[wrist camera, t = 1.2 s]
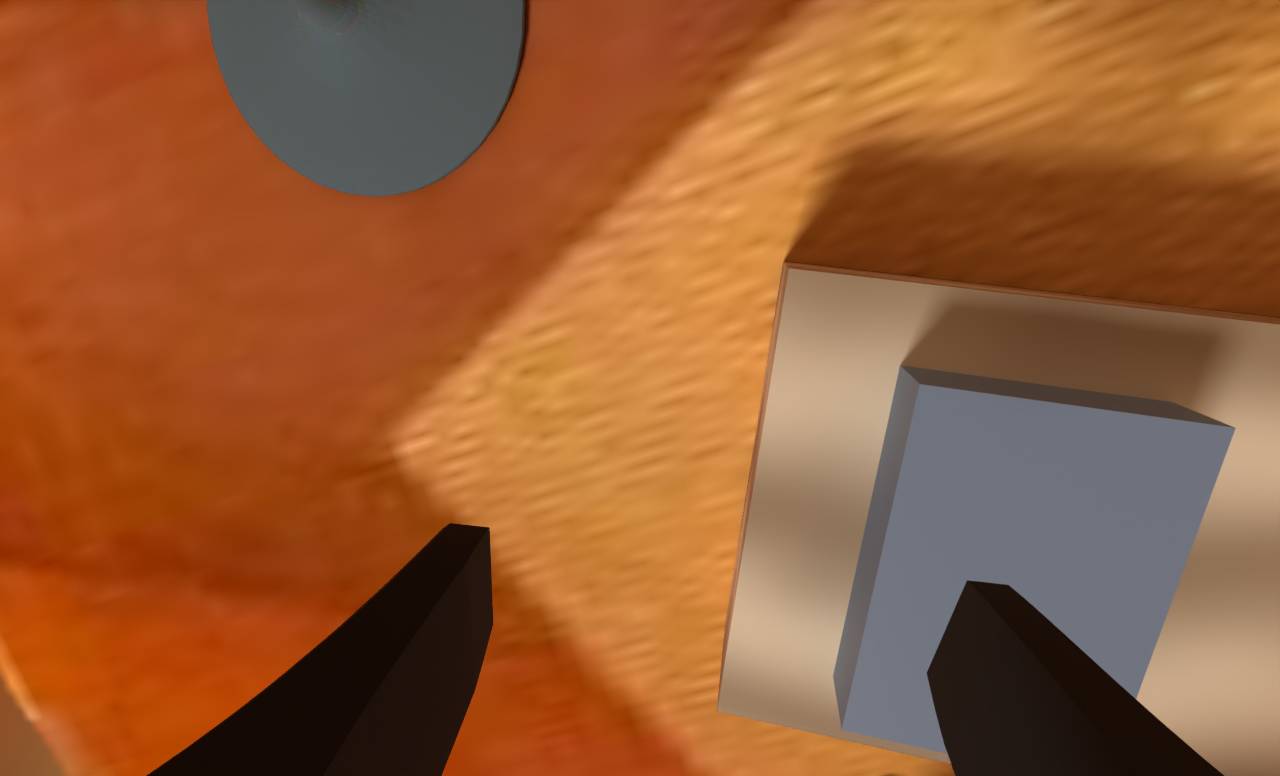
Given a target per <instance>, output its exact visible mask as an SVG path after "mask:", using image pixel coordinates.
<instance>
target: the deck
mask: <svg viewBox="0 0 1280 776" xmlns="http://www.w3.org/2000/svg"><path fill="white" fill-rule="evenodd" d="M900 365H901V366H908V367H916V368H923V369H931V370H938V371H945V372H953V373H960V374H968V375H975V376H983V377H990V378H997V379H1005V380H1012V381H1020V382H1027V383H1035V384H1042V385H1049V386H1057V387H1064V388H1072V389H1079V390H1087V391H1094V392H1101V393H1109V394H1116V395H1124V396H1131V397H1139V398H1146V399H1153V400H1161V401H1168V402H1174V403H1176V404H1179V405H1181V406H1183V407H1186V408H1188V409H1191V410H1193V411H1196V412H1198V413H1201V414H1203V415H1205V416H1208V417H1210V418H1213V419H1215V420H1218V421H1220V422H1223V423H1225V424H1228V425H1230V426H1232V427H1235V431H1234V434H1233V437H1232V439H1231V442H1230V445H1229V448H1228V450H1227V453H1226V456H1225V458H1224V461H1223V464H1222V467H1221V469H1220V472H1219V475H1218V477H1217V480H1216V483H1215V486H1214V488H1213V491H1212V494H1211V497H1210V499H1209V502H1208V505H1207V507H1206V510H1205V513H1204V516H1203V518H1202V521H1201V524H1200V526H1199V529H1198V532H1197V535H1196V537H1195V540H1194V543H1193V546H1192V548H1191V551H1190V554H1189V556H1188V559H1187V562H1186V565H1185V567H1184V570H1183V573H1182V576H1181V578H1180V581H1179V584H1178V586H1177V589H1176V592H1175V595H1174V597H1173V600H1172V603H1171V605H1170V608H1169V611H1168V614H1167V616H1166V619H1165V622H1164V625H1163V627H1162V630H1161V633H1160V635H1159V638H1158V641H1157V644H1156V646H1155V649H1154V652H1153V654H1152V657H1151V660H1150V663H1149V665H1148V668H1147V671H1146V674H1145V676H1144V679H1143V682H1142V684H1141V687H1140V690H1139V693H1138V695H1137V698H1136V700H1137V701H1139V702H1140V703H1141V704H1142V705H1143V706H1144V707H1145V708H1146V709H1148V710H1149V711H1150V712H1151V713H1152V714H1153V715H1154V716H1155V717H1157V718H1158V719H1159V720H1160V721H1161V722H1162V723H1163V724H1165V725H1166V726H1167V727H1168V728H1169V729H1170V730H1171V731H1173V732H1174V733H1175V734H1176V735H1177V736H1178V737H1179V738H1181V739H1182V740H1183V741H1184V742H1185V743H1186V744H1188V745H1189V746H1190V747H1191V748H1192V749H1193V750H1195V751H1196V752H1197V753H1198V754H1199V755H1200V756H1201V757H1203V758H1204V759H1205V760H1206V761H1207V762H1209V763H1210V764H1211V765H1212V766H1213V767H1215V768H1216V769H1217V770H1218V771H1219V772H1221V773H1222V774H1223V775H1224V776H1280V318H1278V317H1270V316H1261V315H1252V314H1243V313H1234V312H1225V311H1217V310H1208V309H1199V308H1190V307H1181V306H1172V305H1163V304H1155V303H1146V302H1137V301H1128V300H1119V299H1110V298H1102V297H1093V296H1084V295H1075V294H1066V293H1057V292H1049V291H1040V290H1031V289H1022V288H1013V287H1004V286H996V285H987V284H978V283H969V282H960V281H951V280H943V279H934V278H925V277H916V276H907V275H898V274H890V273H881V272H872V271H863V270H854V269H845V268H836V267H828V266H819V265H810V264H801V263H792V262H783V267H782V273H781V280H780V286H779V292H778V299H777V305H776V311H775V317H774V324H773V330H772V336H771V342H770V349H769V355H768V361H767V367H766V374H765V380H764V386H763V392H762V399H761V405H760V411H759V418H758V424H757V430H756V436H755V443H754V449H753V455H752V461H751V468H750V474H749V480H748V486H747V493H746V499H745V505H744V512H743V518H742V524H741V530H740V537H739V543H738V549H737V555H736V562H735V568H734V574H733V580H732V587H731V593H730V599H729V606H728V612H727V618H726V624H725V631H724V642H723V652H722V663H721V674H720V684H719V695H718V706H717V711H718V712H723V713H727V714H732V715H736V716H740V717H745V718H749V719H754V720H758V721H763V722H767V723H771V724H776V725H780V726H785V727H789V728H793V729H798V730H802V731H807V732H811V733H816V734H820V735H824V736H829V737H833V738H838V739H842V740H846V741H851V742H855V743H860V744H864V745H869V746H873V747H877V748H882V749H886V750H891V751H895V752H899V753H904V754H908V755H913V756H917V757H921V758H926V759H930V760H935V761H939V762H944V763H948V764H951V762H950V759H949V756H948V754H946V753H941V752H937V751H932V750H928V749H924V748H919V747H915V746H910V745H906V744H901V743H897V742H892V741H888V740H883V739H879V738H874V737H870V736H866V735H861V734H857V733H852V732H848V731H843V730H841V723H840V717H839V711H838V705H837V698H836V692H835V686H834V680H833V674H834V669H835V664H836V660H837V655H838V650H839V646H840V641H841V637H842V632H843V627H844V623H845V618H846V613H847V609H848V604H849V600H850V595H851V590H852V586H853V581H854V576H855V572H856V567H857V562H858V558H859V553H860V549H861V544H862V539H863V535H864V530H865V525H866V521H867V516H868V511H869V507H870V502H871V498H872V493H873V488H874V484H875V479H876V474H877V470H878V465H879V461H880V456H881V451H882V447H883V442H884V437H885V433H886V428H887V423H888V419H889V414H890V410H891V405H892V400H893V396H894V391H895V386H896V382H897V377H898V373H899V368H900Z"/></svg>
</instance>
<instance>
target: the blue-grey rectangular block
mask: <svg viewBox="0 0 1280 776" xmlns="http://www.w3.org/2000/svg"><path fill="white" fill-rule="evenodd" d="M1234 431H1235V427H1232V426H1230V425H1228V424H1225V423H1223V422H1220V421H1218V420H1215V419H1213V418H1210V417H1208V416H1205V415H1203V414H1201V413H1198V412H1196V411H1193V410H1191V409H1188V408H1186V407H1183V406H1181V405H1179V404H1176V403H1174V402H1168V401H1161V400H1153V399H1146V398H1139V397H1131V396H1124V395H1116V394H1109V393H1101V392H1094V391H1087V390H1079V389H1072V388H1064V387H1057V386H1049V385H1042V384H1035V383H1027V382H1020V381H1012V380H1005V379H997V378H990V377H983V376H975V375H968V374H960V373H953V372H945V371H938V370H931V369H923V368H916V367H908V366H901V365H900V368H899V373H898V377H897V382H896V386H895V391H894V396H893V400H892V405H891V410H890V414H889V419H888V423H887V428H886V433H885V437H884V442H883V447H882V451H881V456H880V461H879V465H878V470H877V474H876V479H875V484H874V488H873V493H872V498H871V502H870V507H869V511H868V516H867V521H866V525H865V530H864V535H863V539H862V544H861V549H860V553H859V558H858V562H857V567H856V572H855V576H854V581H853V586H852V590H851V595H850V600H849V604H848V609H847V613H846V618H845V623H844V627H843V632H842V637H841V641H840V646H839V650H838V655H837V660H836V664H835V669H834V674H833V680H834V686H835V692H836V698H837V705H838V711H839V717H840V723H841V730H843V731H848V732H852V733H857V734H861V735H866V736H870V737H874V738H879V739H883V740H888V741H892V742H897V743H901V744H906V745H910V746H915V747H919V748H924V749H928V750H932V751H937V752H941V753H946V754H948V753H947V751H946V748H945V745H944V742H943V738H942V734H941V730H940V727H939V723H938V719H937V715H936V712H935V707H934V703H933V699H932V694H931V690H930V686H929V681H928V677H927V671H928V669H929V666H930V664H931V662H932V659H933V657H934V655H935V653H936V650H937V648H938V646H939V643H940V641H941V639H942V636H943V634H944V632H945V630H946V627H947V625H948V623H949V620H950V618H951V616H952V614H953V611H954V609H955V607H956V604H957V602H958V600H959V597H960V595H961V593H962V591H963V588H964V586H965V584H966V581H967V580H969V581H978V582H987V583H996V584H1005V585H1009V586H1010V587H1012V588H1013V589H1014V590H1015V591H1016V592H1018V593H1019V594H1020V595H1021V596H1022V597H1024V598H1025V599H1026V600H1027V601H1028V602H1029V603H1030V604H1032V605H1033V606H1034V607H1035V608H1036V609H1037V610H1038V611H1039V612H1041V613H1042V614H1043V615H1044V616H1045V617H1046V618H1047V619H1048V620H1049V621H1051V622H1052V623H1053V624H1054V625H1055V626H1056V627H1057V628H1058V629H1059V630H1060V631H1062V632H1063V633H1064V634H1065V635H1066V636H1067V637H1068V638H1069V639H1070V640H1071V641H1072V642H1074V643H1075V644H1076V645H1077V646H1078V647H1079V648H1080V649H1081V650H1082V651H1083V652H1085V653H1086V654H1087V655H1088V656H1089V657H1090V658H1091V659H1092V660H1093V661H1094V662H1095V663H1097V664H1098V665H1099V666H1100V667H1101V668H1102V669H1103V670H1104V671H1105V672H1106V673H1108V674H1109V675H1110V676H1111V677H1112V678H1113V679H1114V680H1115V681H1116V682H1117V683H1119V684H1120V685H1121V686H1122V687H1123V688H1124V689H1125V690H1126V691H1127V692H1129V693H1130V694H1131V695H1132V696H1133V697H1134V698H1135V699H1136V698H1137V695H1138V693H1139V690H1140V687H1141V684H1142V682H1143V679H1144V676H1145V674H1146V671H1147V668H1148V665H1149V663H1150V660H1151V657H1152V654H1153V652H1154V649H1155V646H1156V644H1157V641H1158V638H1159V635H1160V633H1161V630H1162V627H1163V625H1164V622H1165V619H1166V616H1167V614H1168V611H1169V608H1170V605H1171V603H1172V600H1173V597H1174V595H1175V592H1176V589H1177V586H1178V584H1179V581H1180V578H1181V576H1182V573H1183V570H1184V567H1185V565H1186V562H1187V559H1188V556H1189V554H1190V551H1191V548H1192V546H1193V543H1194V540H1195V537H1196V535H1197V532H1198V529H1199V526H1200V524H1201V521H1202V518H1203V516H1204V513H1205V510H1206V507H1207V505H1208V502H1209V499H1210V497H1211V494H1212V491H1213V488H1214V486H1215V483H1216V480H1217V477H1218V475H1219V472H1220V469H1221V467H1222V464H1223V461H1224V458H1225V456H1226V453H1227V450H1228V448H1229V445H1230V442H1231V439H1232V437H1233V434H1234Z"/></svg>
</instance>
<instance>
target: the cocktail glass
mask: <svg viewBox="0 0 1280 776" xmlns="http://www.w3.org/2000/svg"><path fill="white" fill-rule="evenodd" d="M207 11H208V18H209V25H210V32H211V38H212V43H213V47H214V50H215V54H216V57H217V61H218V64H219V68H220V71H221V73H222V75H223V78H224V80H225V83H226V85H227V87H228V90H229V92H230V95H231V96H232V98H233V100H234V102H235V103H236V105H237V107H238V109H239V110H240V112H241V114H242V116H243V117H244V119H245V120H246V122H247V123H248V124H249V125H250V127H251V128H252V129H253V131H254V132H255V133H256V135H257V136H258V137H259V139H260V140H261V141H262V142H263V143H264V144H265V145H266V146H267V147H268V148H269V149H270V150H271V151H272V152H273V153H274V154H275V155H276V156H277V157H278V158H279V159H281V160H282V161H283V162H285V163H286V164H287V165H289V166H290V167H291V168H293V169H294V170H295V171H297V172H298V173H299V174H301V175H303V176H305V177H307V178H309V179H311V180H313V181H315V182H317V183H319V184H320V185H322V186H325V187H328V188H332V189H335V190H338V191H341V192H344V193H349V194H356V195H364V196H385V195H398V194H402V193H406V192H410V191H414V190H418V189H421V188H423V187H425V186H428V185H430V184H432V183H434V182H436V181H438V180H440V179H442V178H444V177H445V176H447V175H448V174H450V173H451V172H452V171H454V170H455V169H457V168H458V167H459V166H461V165H462V164H463V163H464V162H465V161H466V160H467V159H468V158H469V157H470V156H471V155H472V154H473V153H474V152H475V151H476V150H477V149H478V148H479V147H480V146H481V145H482V144H483V142H484V141H485V139H486V138H487V137H488V135H489V134H490V132H491V131H492V130H493V128H494V127H495V125H496V124H497V122H498V120H499V118H500V116H501V114H502V112H503V110H504V108H505V106H506V104H507V102H508V100H509V98H510V95H511V92H512V89H513V86H514V83H515V80H516V77H517V73H518V70H519V65H520V59H521V54H522V48H523V42H524V31H525V0H207Z"/></svg>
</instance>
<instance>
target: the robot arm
mask: <svg viewBox="0 0 1280 776" xmlns="http://www.w3.org/2000/svg"><path fill="white" fill-rule="evenodd" d="M492 626H493V607H492V581H491V556H490V531H489V528H488V527H479V526H470V525H461V524H452V523H450V524H448V525H447V526H446V527H444V528H443V529H442V530H441V531H440V532H439V533H438V534H437V535H436V536H435V537H434V538H433V539H432V540H431V541H430V542H429V543H428V544H427V545H426V546H425V547H424V548H423V549H422V550H421V551H420V552H419V553H418V554H417V555H416V556H415V557H414V558H413V559H412V560H410V561H409V562H408V563H407V564H406V565H405V566H404V567H403V568H402V569H401V570H400V571H399V572H398V573H397V574H396V575H395V576H394V577H393V578H392V579H391V580H390V581H389V582H388V583H387V584H386V585H384V586H383V587H382V588H381V589H380V590H379V591H378V592H377V593H376V594H375V595H374V596H373V597H371V598H370V599H369V600H368V601H367V602H366V603H365V604H364V605H363V606H362V607H361V608H359V609H358V610H357V611H356V612H355V613H354V614H353V615H352V616H351V617H350V618H348V619H347V620H346V621H345V622H344V623H343V624H342V625H341V626H340V627H339V628H337V629H336V630H335V631H334V632H333V633H332V634H331V635H329V636H328V637H327V638H326V639H325V640H324V641H322V642H321V643H320V644H319V645H318V646H316V647H315V648H314V649H313V650H312V651H310V652H309V653H308V654H307V655H306V656H304V657H303V658H302V659H301V660H300V661H298V662H297V663H296V664H295V665H294V666H292V667H291V668H290V669H289V670H288V671H286V672H285V673H284V674H283V675H282V676H280V677H279V678H278V679H277V680H276V681H274V682H273V683H272V684H271V685H269V686H268V687H267V688H266V689H264V690H263V691H262V692H261V693H259V694H258V695H257V696H255V697H254V698H253V699H252V700H250V701H249V702H248V703H246V704H245V705H244V706H243V707H241V708H240V709H239V710H237V711H236V712H235V713H233V714H232V715H231V716H229V717H228V718H227V719H225V720H224V721H223V722H221V723H220V724H219V725H217V726H216V727H215V728H213V729H212V730H210V731H209V732H208V733H206V734H205V735H204V736H202V737H201V738H200V739H198V740H197V741H195V742H194V743H193V744H191V745H190V746H189V747H187V748H186V749H184V750H183V751H182V752H180V753H179V754H177V755H176V756H174V757H173V758H171V759H170V760H169V761H167V762H166V763H164V764H163V765H161V766H160V767H158V768H157V769H155V770H154V771H152V772H151V773H150V774H148V775H147V776H441V775H442V773H443V770H444V768H445V765H446V763H447V760H448V758H449V755H450V753H451V750H452V748H453V745H454V743H455V740H456V737H457V735H458V732H459V730H460V727H461V725H462V722H463V720H464V717H465V714H466V712H467V709H468V707H469V704H470V701H471V699H472V696H473V694H474V691H475V688H476V685H477V681H478V678H479V674H480V671H481V667H482V663H483V660H484V656H485V652H486V649H487V645H488V641H489V637H490V634H491V630H492ZM927 677H928V681H929V686H930V690H931V694H932V699H933V703H934V707H935V712H936V715H937V719H938V723H939V727H940V730H941V734H942V738H943V742H944V745H945V748H946V751H947V753H948V756H949V759H950V762H951V764H952V767H953V770H954V773H955V775H956V776H1224V775H1223V774H1222V773H1221V772H1219V771H1218V770H1217V769H1216V768H1215V767H1213V766H1212V765H1211V764H1210V763H1209V762H1207V761H1206V760H1205V759H1204V758H1203V757H1201V756H1200V755H1199V754H1198V753H1197V752H1196V751H1195V750H1193V749H1192V748H1191V747H1190V746H1189V745H1188V744H1186V743H1185V742H1184V741H1183V740H1182V739H1181V738H1179V737H1178V736H1177V735H1176V734H1175V733H1174V732H1173V731H1171V730H1170V729H1169V728H1168V727H1167V726H1166V725H1165V724H1163V723H1162V722H1161V721H1160V720H1159V719H1158V718H1157V717H1155V716H1154V715H1153V714H1152V713H1151V712H1150V711H1149V710H1148V709H1146V708H1145V707H1144V706H1143V705H1142V704H1141V703H1140V702H1139V701H1137V700H1136V699H1135V698H1134V697H1133V696H1132V695H1131V694H1130V693H1129V692H1127V691H1126V690H1125V689H1124V688H1123V687H1122V686H1121V685H1120V684H1119V683H1117V682H1116V681H1115V680H1114V679H1113V678H1112V677H1111V676H1110V675H1109V674H1108V673H1106V672H1105V671H1104V670H1103V669H1102V668H1101V667H1100V666H1099V665H1098V664H1097V663H1095V662H1094V661H1093V660H1092V659H1091V658H1090V657H1089V656H1088V655H1087V654H1086V653H1085V652H1083V651H1082V650H1081V649H1080V648H1079V647H1078V646H1077V645H1076V644H1075V643H1074V642H1072V641H1071V640H1070V639H1069V638H1068V637H1067V636H1066V635H1065V634H1064V633H1063V632H1062V631H1060V630H1059V629H1058V628H1057V627H1056V626H1055V625H1054V624H1053V623H1052V622H1051V621H1049V620H1048V619H1047V618H1046V617H1045V616H1044V615H1043V614H1042V613H1041V612H1039V611H1038V610H1037V609H1036V608H1035V607H1034V606H1033V605H1032V604H1030V603H1029V602H1028V601H1027V600H1026V599H1025V598H1024V597H1022V596H1021V595H1020V594H1019V593H1018V592H1016V591H1015V590H1014V589H1013V588H1012V587H1010V586H1009V585H1005V584H996V583H987V582H978V581H969V580H967V581H966V584H965V586H964V588H963V591H962V593H961V595H960V597H959V600H958V602H957V604H956V607H955V609H954V611H953V614H952V616H951V618H950V620H949V623H948V625H947V627H946V630H945V632H944V634H943V636H942V639H941V641H940V643H939V646H938V648H937V650H936V653H935V655H934V657H933V659H932V662H931V664H930V666H929V669H928V671H927Z"/></svg>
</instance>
